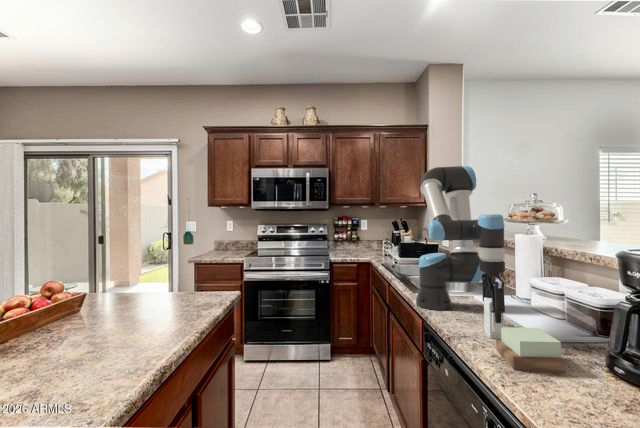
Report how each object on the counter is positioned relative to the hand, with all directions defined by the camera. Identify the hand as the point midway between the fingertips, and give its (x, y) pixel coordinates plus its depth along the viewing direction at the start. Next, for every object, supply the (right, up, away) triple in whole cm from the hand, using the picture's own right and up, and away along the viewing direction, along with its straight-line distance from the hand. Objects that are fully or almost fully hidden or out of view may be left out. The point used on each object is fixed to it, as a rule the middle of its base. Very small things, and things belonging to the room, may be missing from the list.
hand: (493, 328), depth 102 cm
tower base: (-1, -3, -18) cm, 18 cm away
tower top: (-1, +1, -18) cm, 18 cm away
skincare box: (0, -3, 0) cm, 3 cm away
